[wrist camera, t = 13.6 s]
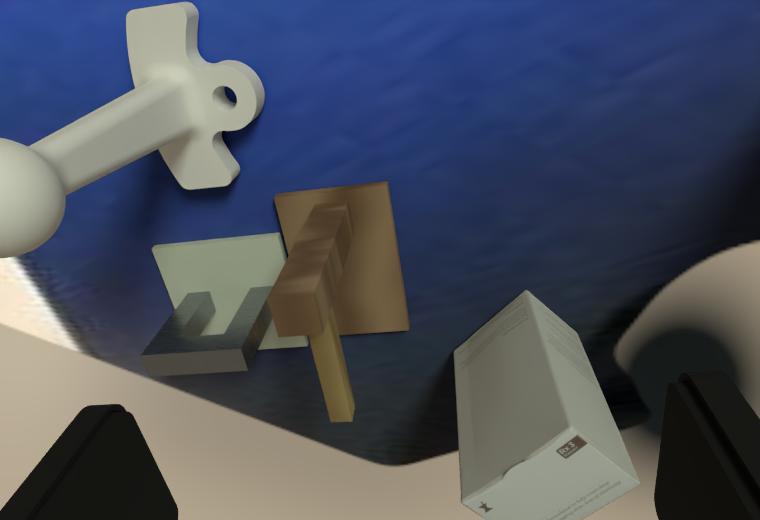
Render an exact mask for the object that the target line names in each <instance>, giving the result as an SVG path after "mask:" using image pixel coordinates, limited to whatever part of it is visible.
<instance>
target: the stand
mask: <svg viewBox="0 0 760 520" xmlns="http://www.w3.org/2000/svg"><path fill="white" fill-rule="evenodd" d="M274 201H275V205H276V208H277V212H278V216H279V220H280V224H281V228H282V232H283V235H284V239H285V243H286V247H287V251H288V255H289V256H288V258H287V260H286V262H285V264H284V266H283V268H282V270H281V272H280V274H279V276H278V278H277V280H276V282H275V284H274V286H273V288H272V290H271V292H270V294H269V295H268V297H267V300H268V304H269V307H270V310H271V314H272V317H273V321H274V324H275V328H276V331H277V334H278V337H292V336H306V335H308V336H309V340H310V344H311V348H312V352H313V355H314V359H315V363H316V367H317V371H318V375H319V378H320V382H321V386H322V390H323V394H324V398H325V401H326V405H327V409H328V413H329V417H330V421H331V422H347V421H352V420H353V414H354V409H355V403H354V399H353V394H352V390H351V386H350V381H349V377H348V373H347V368H346V364H345V359H344V355H343V351H342V346H341V342H340V338H339V335H350V334H364V333H378V332H392V331H406V330H409V326H410V323H409V317H408V310H407V304H406V297H405V291H404V284H403V277H402V271H401V264H400V258H399V251H398V245H397V238H396V231H395V225H394V218H393V212H392V205H391V199H390V192H389V185H388V181H385V182H376V183H368V184H359V185H350V186H341V187H332V188H324V189H315V190H306V191H297V192H288V193H280V194H276V196H275V197H274Z"/></svg>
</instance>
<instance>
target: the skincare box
mask: <svg viewBox="0 0 760 520" xmlns="http://www.w3.org/2000/svg"><path fill="white" fill-rule="evenodd" d="M454 368H455V385H456V403H457V422H458V443H459V462H460V479H461V503H462V504H463V505H465V506H466V507H468V508H469V509H471V510H473V511H474V512H475V513H477V514H478V515H480V516H481V517H483V518H484V519H486V520H582V519H584V518H585V517H587V516H589V515H590V514H592V513H594V512H595V511H597V510H599V509H600V508H602V507H604V506H605V505H607V504H609V503H610V502H612V501H613V500H615V499H617V498H619V497H620V496H622V495H624V494H625V493H627V492H629V491H630V490H632V489H634V488H636V487H637V486H639V485H640V481H639V478H638V476H637V474H636V471H635V469H634V466H633V464H632V461H631V459H630V457H629V454H628V452H627V450H626V447H625V445H624V442H623V439H622V437H621V435H620V432H619V430H618V428H617V426H616V423H615V421H614V419H613V417H612V414H611V412H610V410H609V407H608V405H607V402H606V400H605V398H604V395H603V393H602V391H601V388H600V386H599V384H598V381H597V379H596V376H595V374H594V372H593V369H592V367H591V365H590V362H589V360H588V358H587V355H586V353H585V351H584V348H583V346H582V343H581V341H580V339H579V336H578V334H577V332H576V331H574V330H573V329H572V328H571V327H570V326H568V325H567V324H566V323H565V322H564V321H562V320H561V319H560V318H559V317H558V316H557V315H556V314H554V313H553V312H552V311H551V310H550V309H549V308H547V307H546V306H545V305H544V304H543V303H542V302H540V301H539V300H538V299H537V298H536V297H534V296H533V295H532V294H531V293H530V292H529V291H527V290H525V291H524V292H522V293H521V294H520V295H519V296H518V297H517V298H515V299H514V300H513V301H512V302H511V303H509V304H508V305H507V306H506V307H505V308H504V309H502V310H501V311H500V312H499V313H498V314H496V315H495V316H494V317H493V318H492V319H491V320H489V321H488V322H487V323H486V324H485V325H484V326H482V327H481V328H480V329H479V330H478V331H477V332H475V333H474V334H473V335H472V336H471V337H470V338H469V339H468V340H467V341H466V342H464V343H463V344H462V345H461V346H459V347H458V348H457V349H456V350H454Z"/></svg>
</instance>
